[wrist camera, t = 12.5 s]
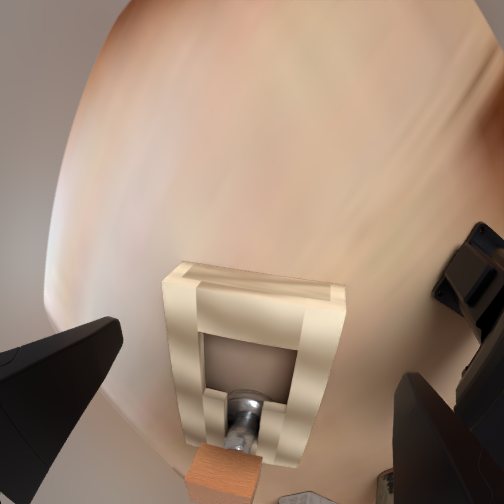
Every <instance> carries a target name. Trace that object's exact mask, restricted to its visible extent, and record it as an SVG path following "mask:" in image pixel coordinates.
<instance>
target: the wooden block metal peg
mask: <svg viewBox="0 0 504 504" xmlns="http://www.w3.org/2000/svg"><path fill="white" fill-rule="evenodd" d="M264 401H268V402H273V401H272V400H271V399H270V398H269V397H267V396H266V395H264V394H262V393H260V392H257V391H253V390H237V391H234V392H232V393H230V394H229V395H228V396H227V423H228V424H229V425H231V428H230V430H229V433H228V435H227V438H226V441H225V443H224V446H223V448H222V447H218V446H214V445H210V444H206V443H203V442H202V443H201V445H200V447H199V449H198V452H197V454H196V456H195V458H194V461H193V463H192V465H191V467H190V469H189V471H188V474H187V476H186V478H185V480H184V481H185V484H186V487H187V490H188V493H189V496H190V499H191V501H193V502H196V503H199V504H252V502H253V499H254V495H255V492H256V488H257V485H258V481H259V477H260V471H261V466H262V460H263V457H262V456H257V455H252V454H250V451H251V448H252V445H253V441H254V438H255V435H256V433H259V429H260V422H261V414H262V408H263V405H264Z"/></svg>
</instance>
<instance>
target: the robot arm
mask: <svg viewBox="0 0 504 504" xmlns="http://www.w3.org/2000/svg"><path fill="white" fill-rule="evenodd" d="M481 227H483V231H482V232H480V228H481ZM439 291H441V293H440V294H437V293H438V292H439ZM433 296H434V298H435V299H436V300H438V301H440V302H441V303H443V304H444V305H446V306H447V307H449V308H451V309H452V310H454V311H455V312H457V313H458V314H460V315H461V316H463V317H464V318H465V319H466V320H467V322H468V324H469V326H470V327H471V329H472V331H473V333H474V335H475V336H476V338H477V340H478V342H479V344H480V347H479V349H478V351H477V352H476V354H475V356H474V357H473V359H472V360H471V362H470V364H469V365H468V366H466V367H465V369H464V370H463V372H462V379H461V380H460V382H459V384H458V386H457V389H456V405H455V406H454V412H453V410H452V409H451V408H450V407H449V406H448V405H447V404H446V402H445V401H444V400H443V399H442V398H441V397H440V396H439V395H438V393H437V392H436V391H435V390H434V389H433V388H432V387H431V386H430V385H429V383H428V382H427V381H426V380H425V379H424V378H423V377H422V376H421V375H420V374H419V373H418V372H405V373H404V375H403V377H402V379H401V381H400V383H399V385H398V387H397V389H396V391H395V396H394V419H393V439H392V443H393V477H394V499H393V504H504V240H503V239H502V238H501V237H500V236H499V235H498V234H497V233H496V232H494V231H493V230H492V229H491V228H490V227H489V226H488V225H486V224H485V223H484V222H478V223H477V224H476V226H475V227H474V229H473V231H472V232H471V234H470V236H469V237H468V239H467V240H466V242H465V243H463V245H462V246H461V248H460V249H459V251H458V252H457V254H456V255H455V257H454V258H453V260H452V261H451V263H450V264H449V266H448V267H447V269H446V270H445V274H444V275H443V276H442V278H441V279H440V281H439V282H438V283H437V285H436V286H435V288H434V289H433ZM122 344H123V335H122V330H121V325H120V322H119V320H118V319H116V318H113V317H109V316H107V317H104V318H101V319H98V320H95V321H92V322H90V323H87V324H84V325H81V326H78V327H75V328H72V329H69V330H67V331H64V332H61V333H58V334H55V335H52V336H49V337H47V338H44V339H41V340H38V341H35V342H32V343H29V344H26V345H23V346H21V347H17V348H14V349H11V350H8V351H5V352H2V353H0V494H1V493H3V494H4V495H5V496H6V497H7V498H9V499H10V500H11V501H12V502H14V503H15V504H30V503H31V501H32V499H33V497H34V496H35V494H36V492H37V490H38V488H39V487H40V485H41V483H42V481H43V480H44V478H45V476H46V474H47V473H48V471H49V468H50V467H51V465H52V463H53V462H54V460H55V458H56V457H57V455H58V453H59V452H60V450H61V448H62V447H63V445H64V443H65V442H66V440H67V438H68V437H69V435H70V433H71V431H72V430H73V429H74V427H75V425H76V424H77V422H78V420H79V419H80V417H81V415H82V414H83V412H84V411H85V409H86V408H87V406H88V404H89V403H90V401H91V400H92V398H93V397H94V395H95V394H96V392H97V391H98V389H99V387H100V386H101V384H102V383H103V381H104V379H105V378H106V376H107V374H108V372H109V370H110V368H111V366H112V364H113V362H114V360H115V358H116V356H117V354H118V353H119V351H120V349H121V347H122ZM0 504H1V501H0Z"/></svg>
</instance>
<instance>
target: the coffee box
mask: <svg viewBox="0 0 504 504" xmlns="http://www.w3.org/2000/svg"><path fill="white" fill-rule="evenodd" d="M278 504H337V503H335V502H332V501H330V500H328V499H326V498H323V497H321V496H319V495H317V494H315V493H313V492H305V493H300V494H295V495H290V496H284V497H280V499H279V503H278Z"/></svg>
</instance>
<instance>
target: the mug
mask: <svg viewBox="0 0 504 504" xmlns="http://www.w3.org/2000/svg"><path fill="white" fill-rule="evenodd" d="M377 481H378V483H377V491H376V504H393V499H394V477H393V468H391V469H388V470H386V471H384V472H382V473H381V474H380V475H379V476H378V478H377Z"/></svg>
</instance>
